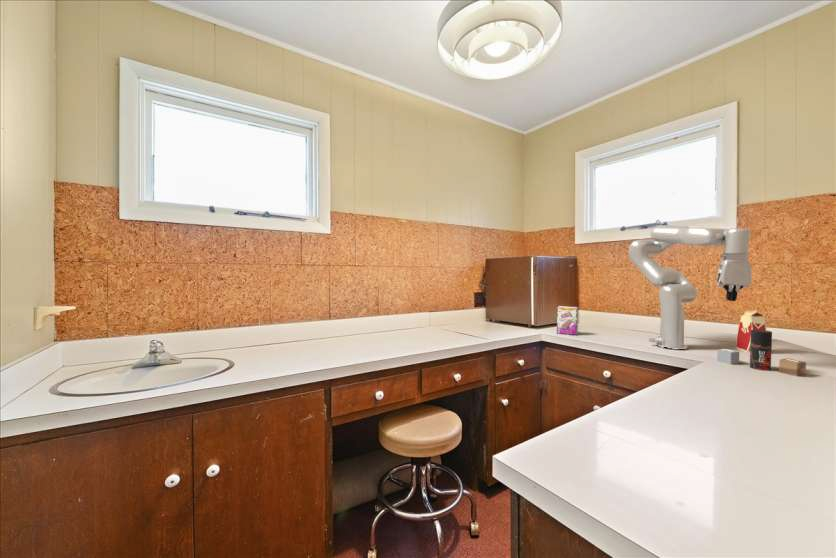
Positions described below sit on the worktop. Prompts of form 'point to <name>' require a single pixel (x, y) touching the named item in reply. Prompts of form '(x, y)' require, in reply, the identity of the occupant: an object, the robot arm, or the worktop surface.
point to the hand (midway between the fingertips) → (731, 300)
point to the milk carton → (749, 328)
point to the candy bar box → (567, 320)
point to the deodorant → (760, 349)
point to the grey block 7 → (728, 356)
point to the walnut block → (792, 367)
